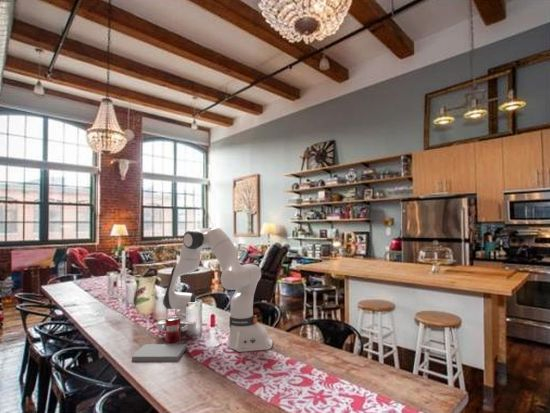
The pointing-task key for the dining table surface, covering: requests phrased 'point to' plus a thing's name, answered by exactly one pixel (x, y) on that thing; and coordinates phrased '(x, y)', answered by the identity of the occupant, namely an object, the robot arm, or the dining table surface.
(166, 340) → the soda can
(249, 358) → the dining table surface
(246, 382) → the dining table surface
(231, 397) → the dining table surface
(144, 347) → the serving board
